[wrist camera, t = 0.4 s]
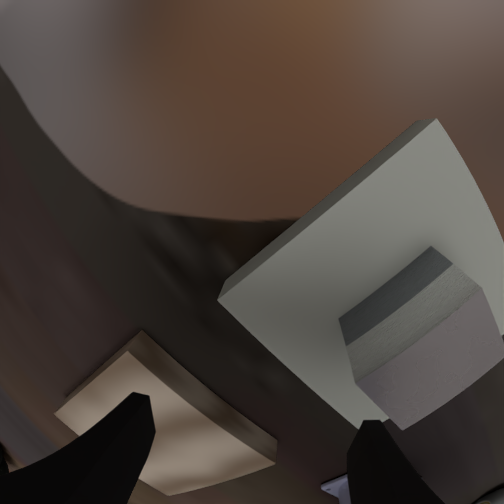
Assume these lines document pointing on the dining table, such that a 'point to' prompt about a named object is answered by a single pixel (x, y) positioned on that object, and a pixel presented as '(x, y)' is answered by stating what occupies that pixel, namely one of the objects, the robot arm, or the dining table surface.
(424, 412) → the block
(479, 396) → the dining table surface
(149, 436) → the robot arm
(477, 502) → the air freshener
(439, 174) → the stand
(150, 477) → the stand
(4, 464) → the squash
